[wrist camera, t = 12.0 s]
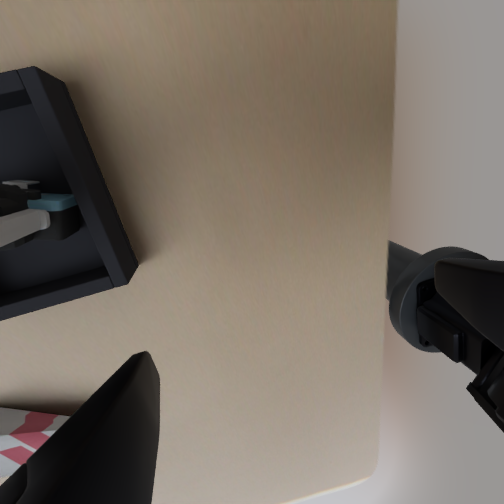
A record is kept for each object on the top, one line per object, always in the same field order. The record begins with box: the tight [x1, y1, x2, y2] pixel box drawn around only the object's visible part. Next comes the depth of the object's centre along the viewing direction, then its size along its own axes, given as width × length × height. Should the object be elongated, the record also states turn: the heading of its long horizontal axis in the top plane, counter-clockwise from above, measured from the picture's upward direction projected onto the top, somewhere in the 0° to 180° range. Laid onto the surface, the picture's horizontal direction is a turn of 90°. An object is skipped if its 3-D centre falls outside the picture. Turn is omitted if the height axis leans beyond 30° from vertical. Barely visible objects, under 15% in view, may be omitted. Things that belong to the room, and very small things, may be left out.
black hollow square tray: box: [0, 66, 139, 321], centre depth 16 cm, size 9×11×3 cm
